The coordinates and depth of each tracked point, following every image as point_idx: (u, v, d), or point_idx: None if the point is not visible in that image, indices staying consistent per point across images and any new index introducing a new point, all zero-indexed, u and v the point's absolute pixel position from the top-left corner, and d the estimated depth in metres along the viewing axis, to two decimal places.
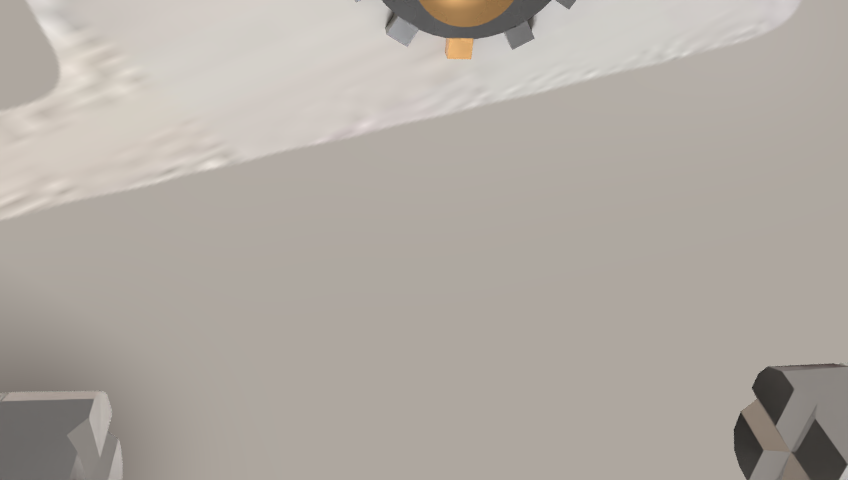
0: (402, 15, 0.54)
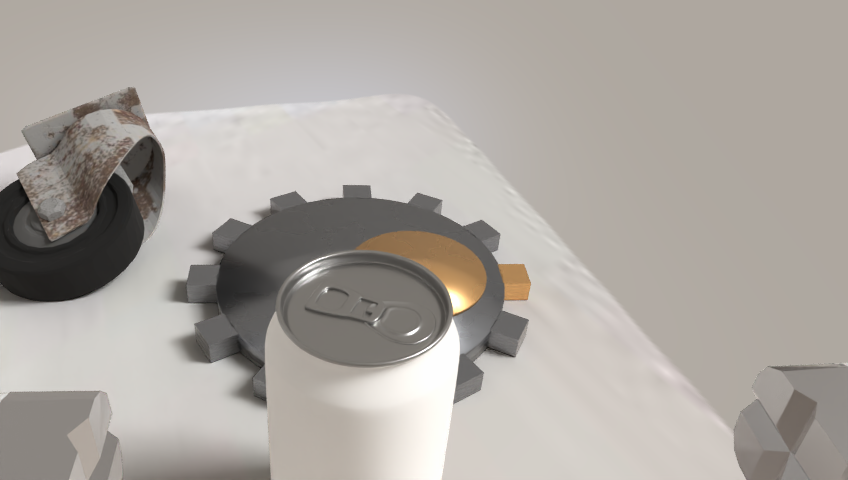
0: (488, 326, 0.40)
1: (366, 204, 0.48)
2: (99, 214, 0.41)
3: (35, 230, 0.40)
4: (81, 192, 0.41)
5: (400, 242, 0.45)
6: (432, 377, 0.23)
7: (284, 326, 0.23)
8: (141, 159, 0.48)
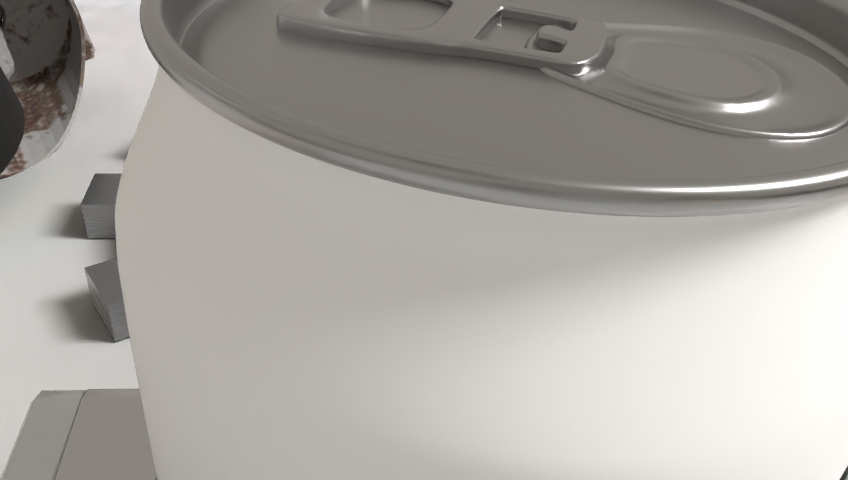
0: None
1: None
2: None
3: None
4: None
5: None
6: None
7: (165, 41, 0.04)
8: (51, 35, 0.29)
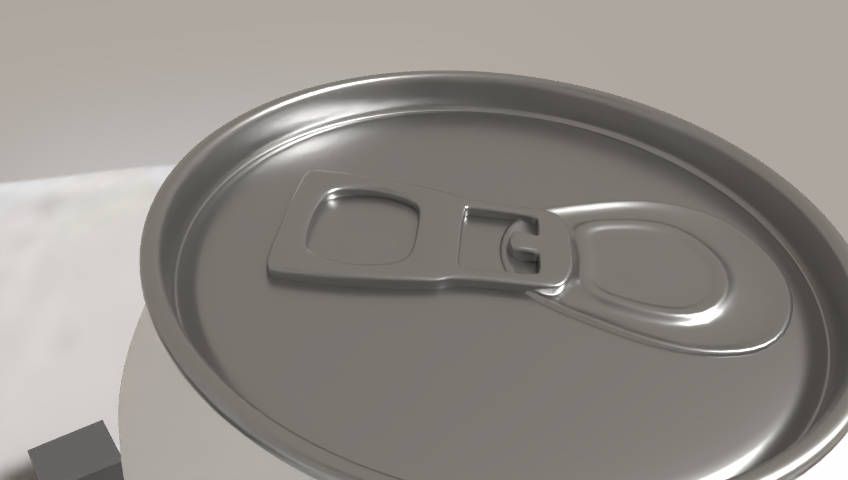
0: None
1: None
2: None
3: None
4: None
5: None
6: None
7: (202, 372, 0.04)
8: None
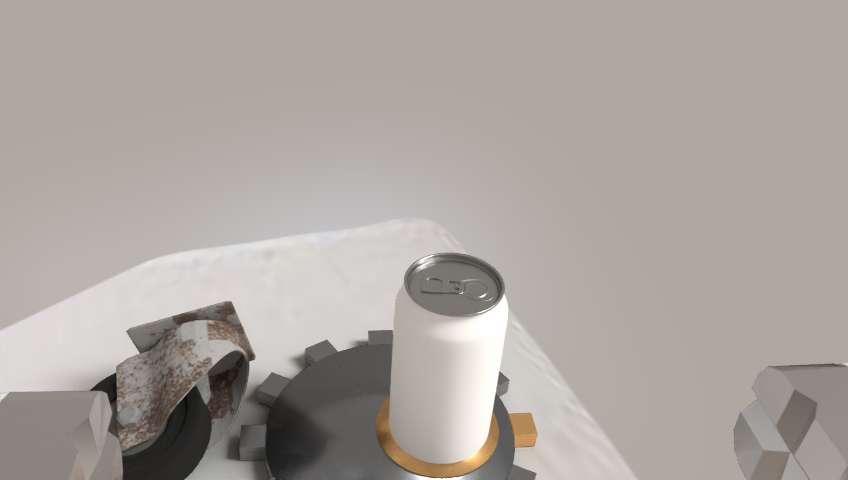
0: None
1: (390, 351, 0.54)
2: (166, 430, 0.44)
3: None
4: (157, 404, 0.45)
5: None
6: (501, 317, 0.41)
7: (418, 302, 0.40)
8: (233, 355, 0.51)
